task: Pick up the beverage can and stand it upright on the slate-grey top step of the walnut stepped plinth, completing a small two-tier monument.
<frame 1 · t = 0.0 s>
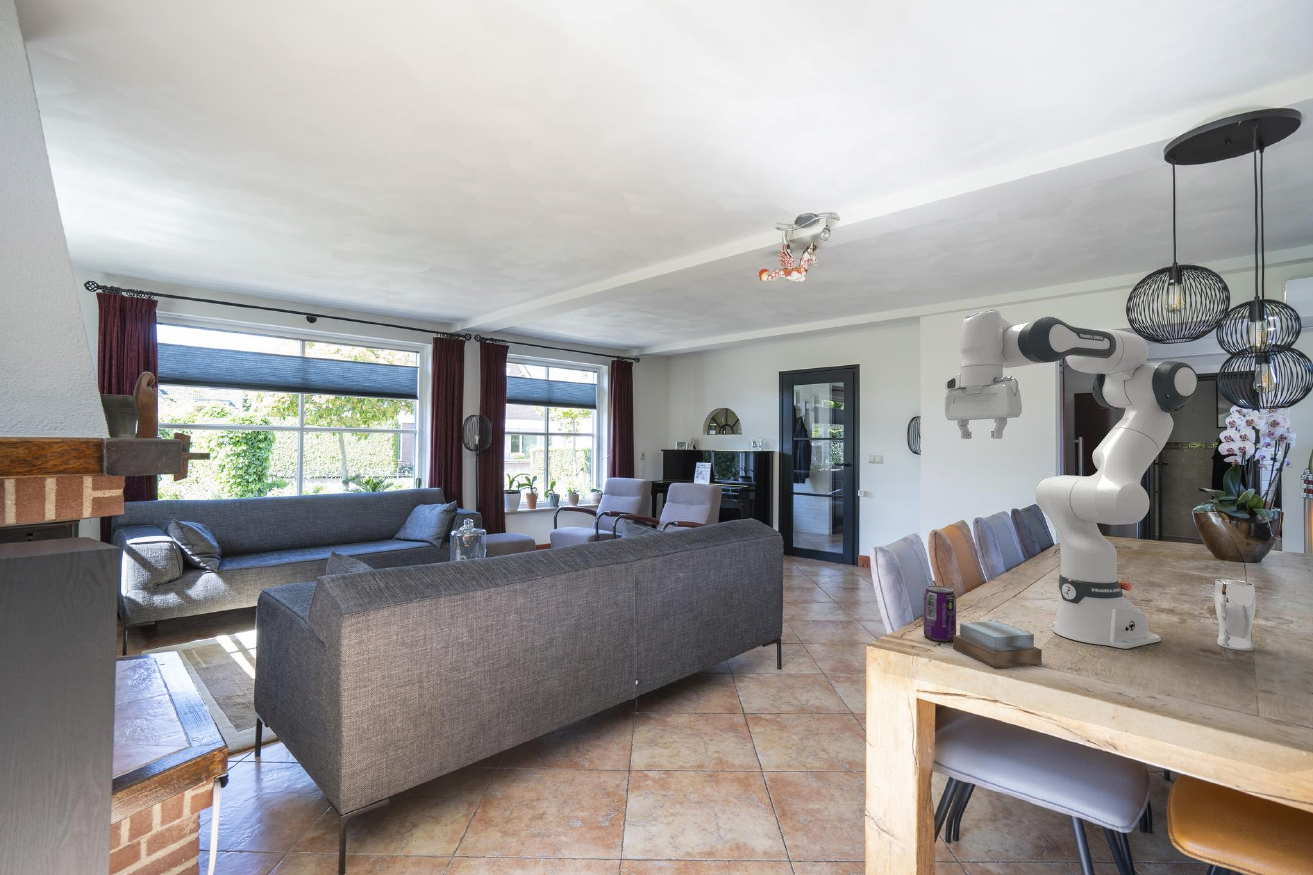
hand: (981, 438, 139), 48 cm above the table, tool pointing down, fingers open, 8 cm apart
beer glass: (1234, 647, 138), on the table
beverage can: (939, 639, 143), on the table
stepped plinth: (995, 655, 131), on the table
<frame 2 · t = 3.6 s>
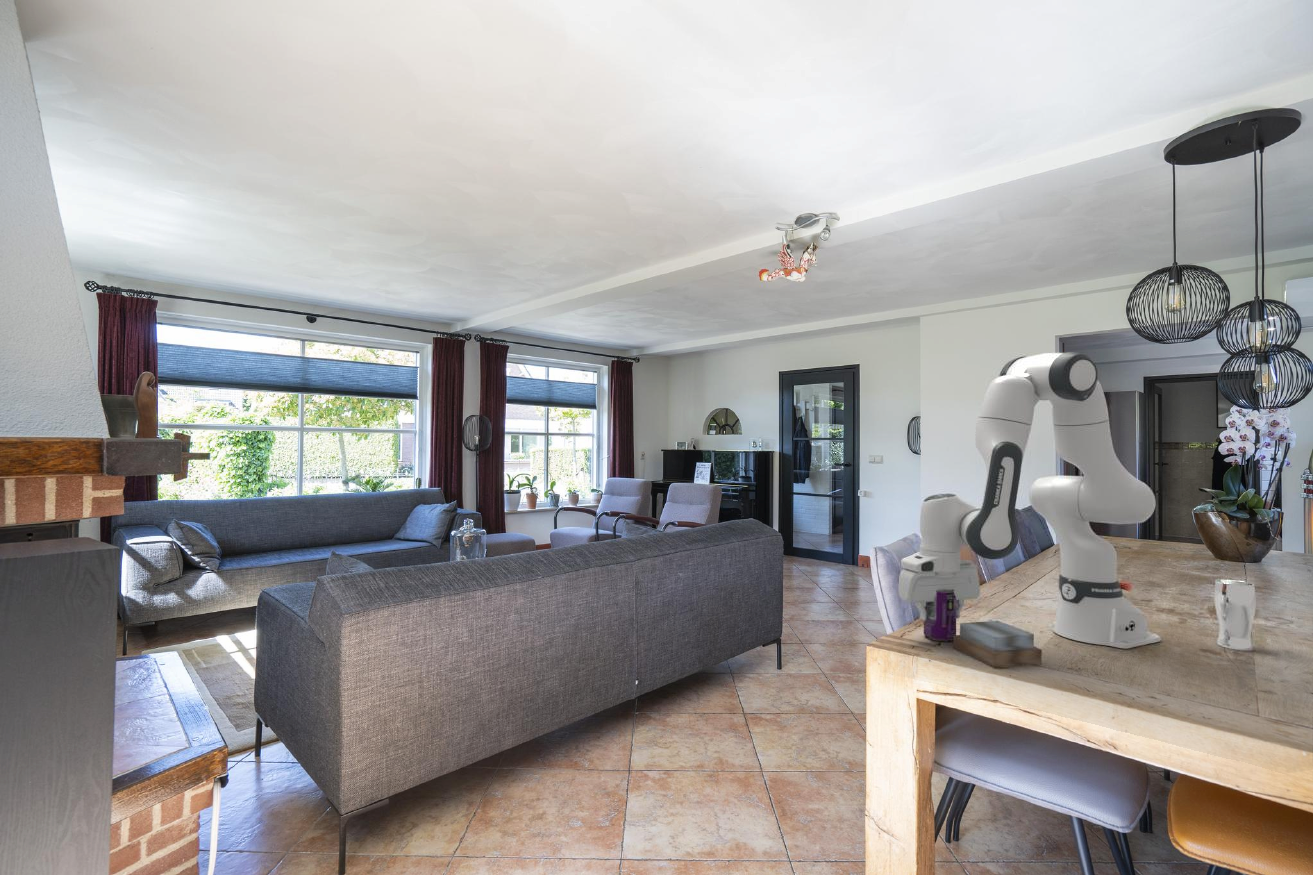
hand: (939, 618, 143), 5 cm above the table, tool pointing down, fingers closed on beverage can, 7 cm apart
beverage can: (939, 638, 143), on the table, touching gripper
everything else where it was.
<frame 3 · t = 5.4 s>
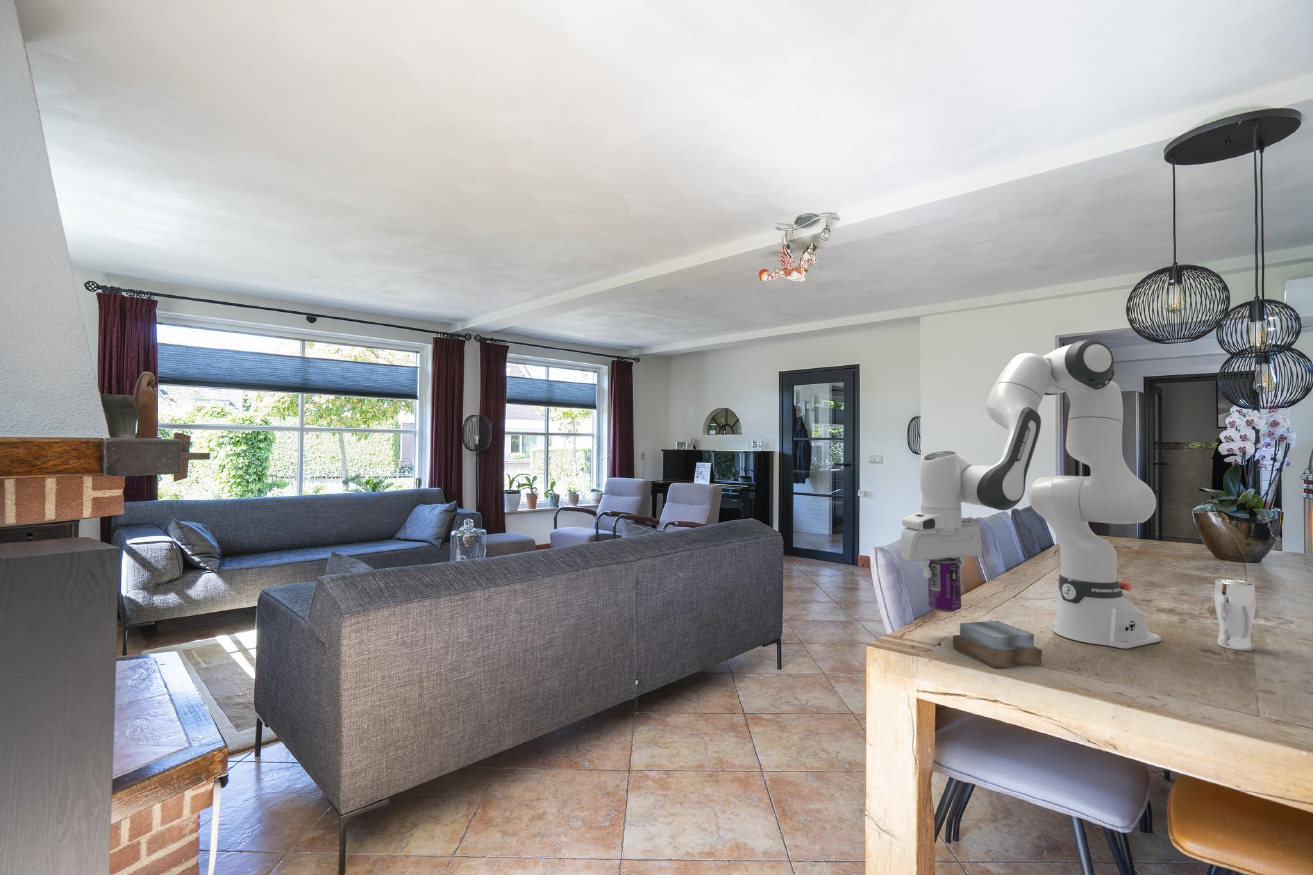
hand: (942, 576, 143), 15 cm above the table, tool pointing down, fingers closed on beverage can, 6 cm apart
beverage can: (944, 609, 143), point 7 cm above the table, touching gripper
everything else where it was.
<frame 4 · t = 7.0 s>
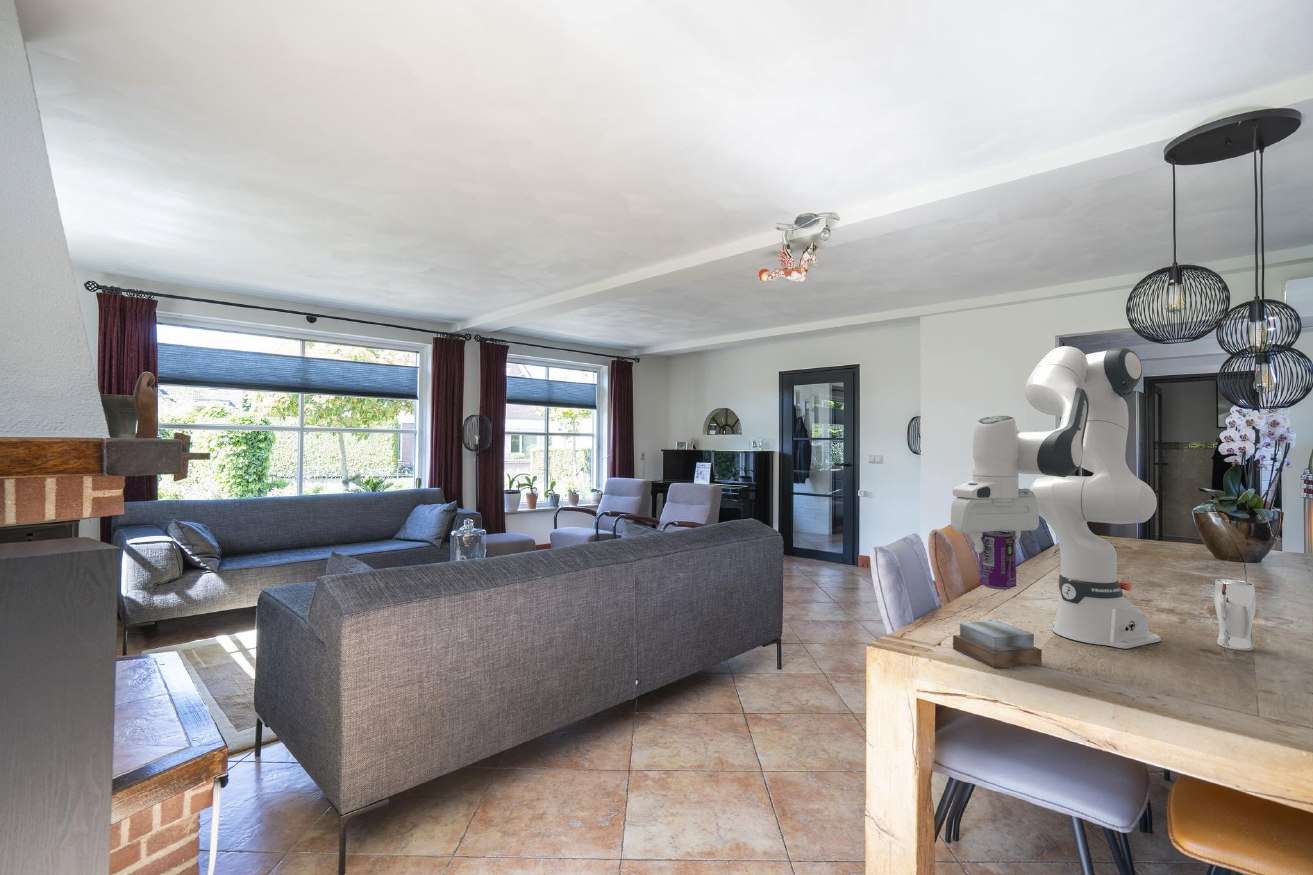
hand: (995, 551, 131), 23 cm above the table, tool pointing down, fingers closed on beverage can, 6 cm apart
beverage can: (997, 588, 131), point 15 cm above the table, touching gripper
everything else where it was.
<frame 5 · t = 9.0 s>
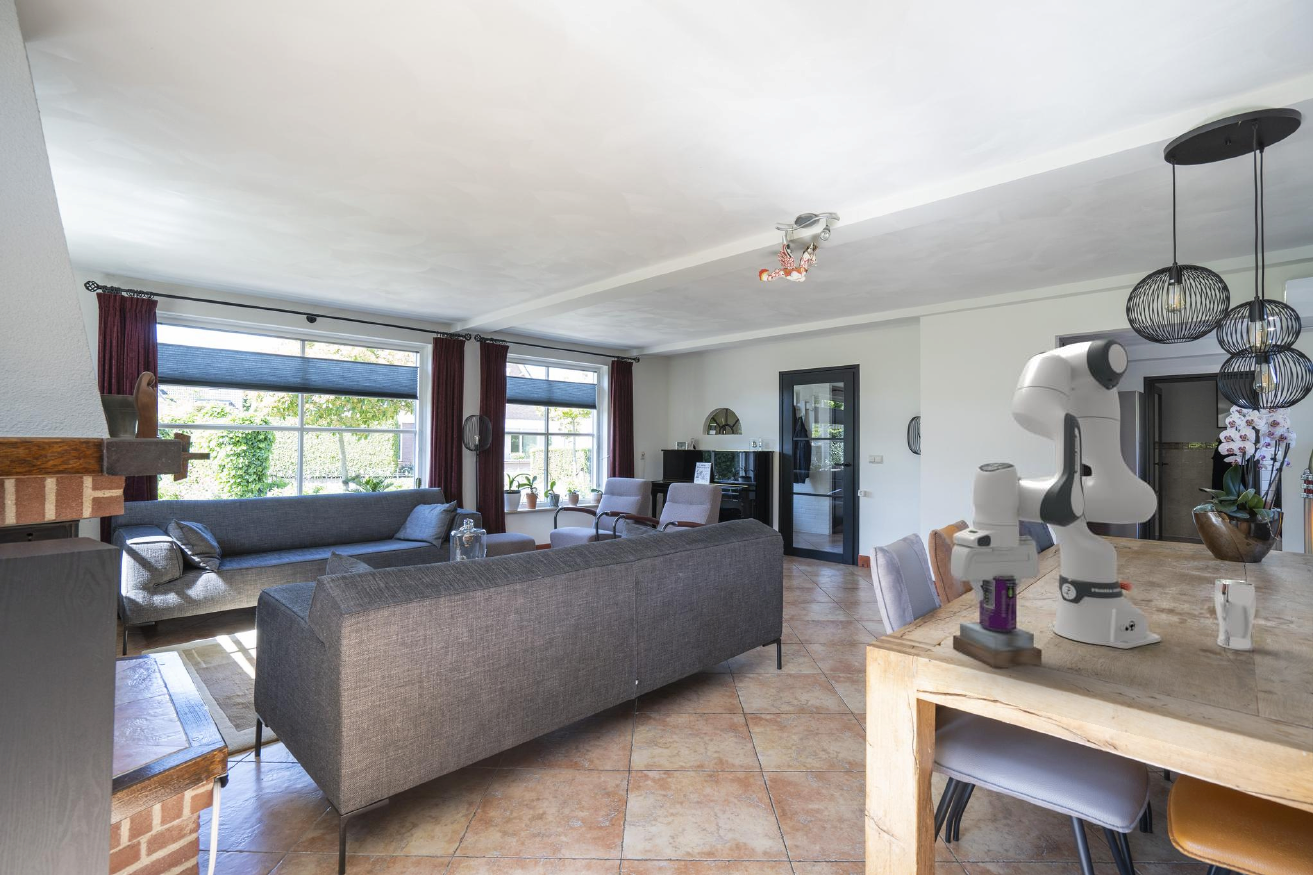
hand: (995, 599, 131), 12 cm above the table, tool pointing down, fingers open, 6 cm apart
beverage can: (997, 629, 131), point 6 cm above the table, touching gripper, stepped plinth
everything else where it was.
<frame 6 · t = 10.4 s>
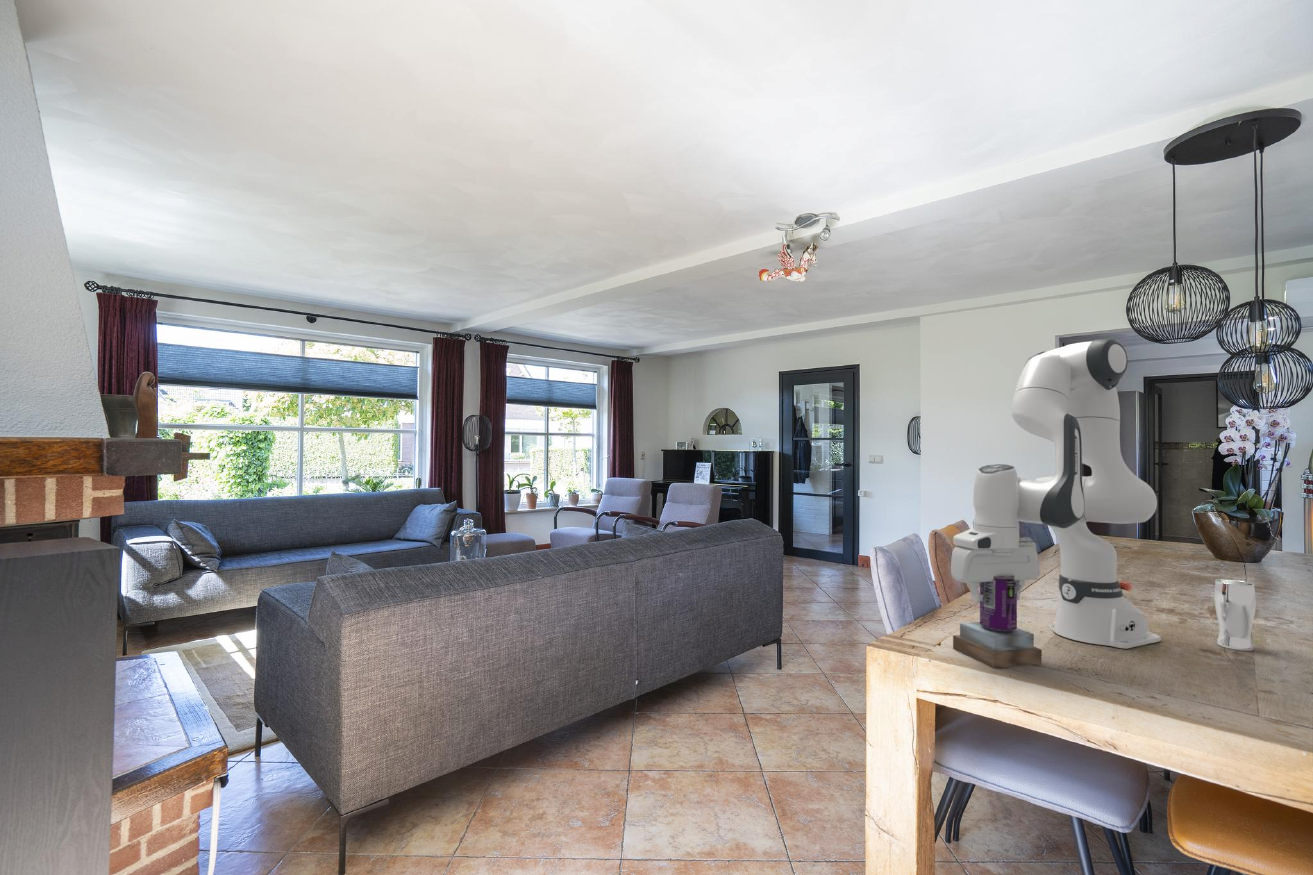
hand: (995, 600, 131), 12 cm above the table, tool pointing down, fingers open, 8 cm apart
beverage can: (998, 629, 131), point 6 cm above the table, touching stepped plinth
everything else where it was.
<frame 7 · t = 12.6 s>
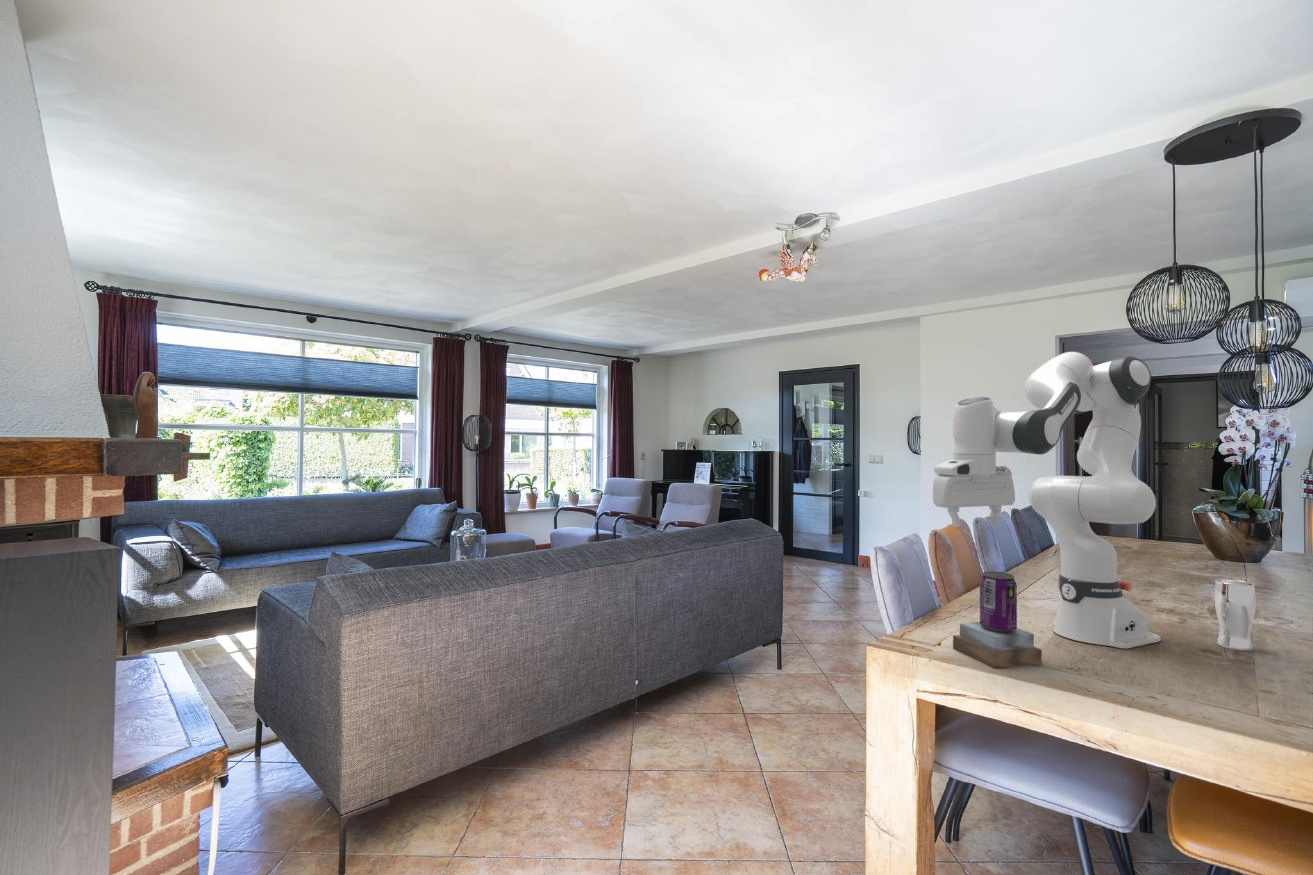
hand: (974, 525, 139), 28 cm above the table, tool pointing down, fingers open, 8 cm apart
nothing on the table moved.
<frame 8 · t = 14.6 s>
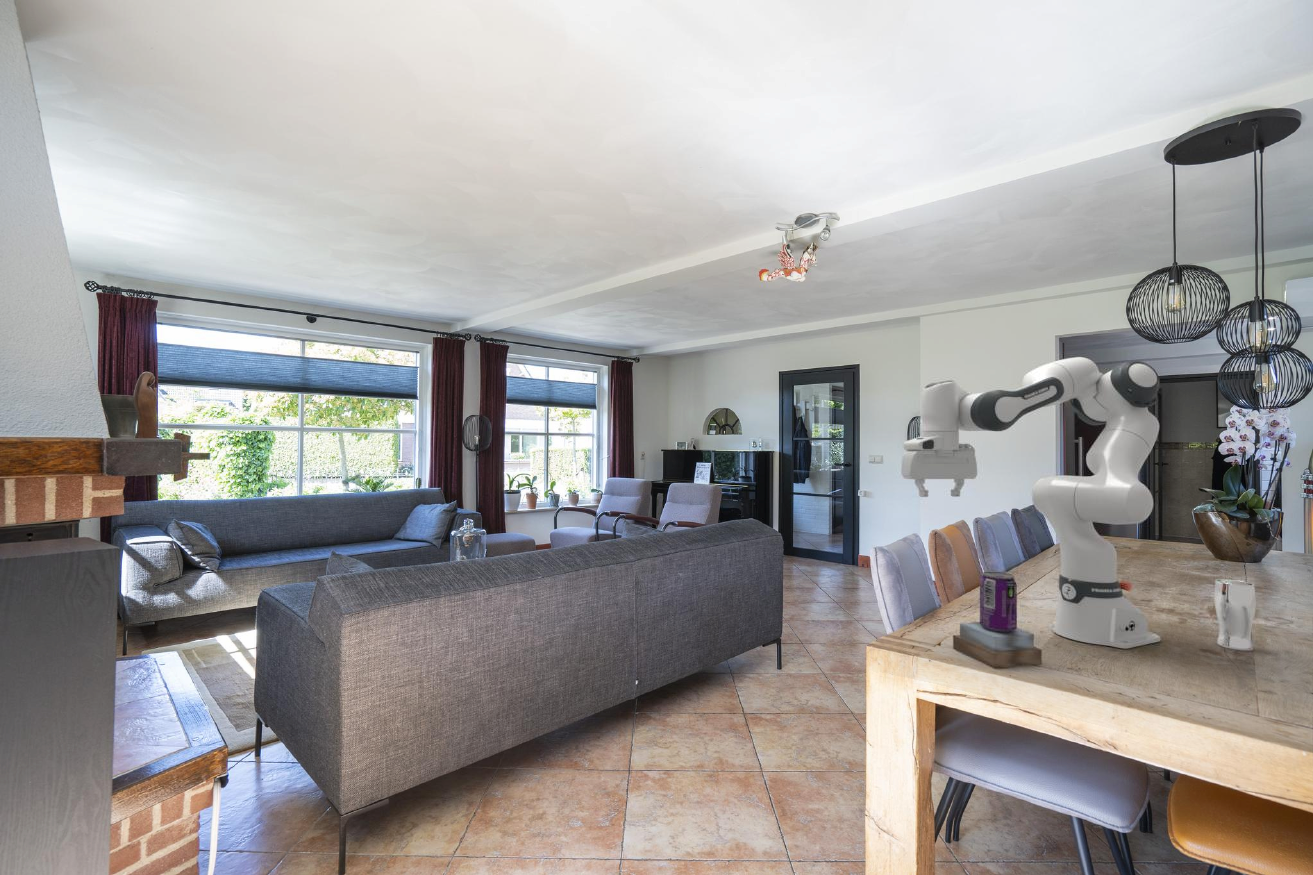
hand: (939, 496, 153), 33 cm above the table, tool pointing down, fingers open, 8 cm apart
nothing on the table moved.
at the end: beverage can 0.4 cm off-centre on the stepped plinth, point 5.8 cm above the stepped plinth's base; beverage can tilted 0°; the gripper is holding nothing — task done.
